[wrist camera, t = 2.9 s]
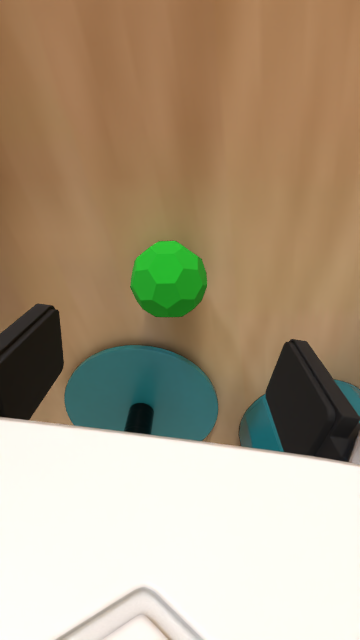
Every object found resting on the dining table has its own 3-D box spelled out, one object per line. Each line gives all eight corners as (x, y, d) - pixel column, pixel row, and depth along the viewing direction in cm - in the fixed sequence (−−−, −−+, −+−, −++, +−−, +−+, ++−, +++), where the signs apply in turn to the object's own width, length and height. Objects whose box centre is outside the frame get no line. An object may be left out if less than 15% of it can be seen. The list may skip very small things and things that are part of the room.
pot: (221, 473, 32) (231, 564, 24) (268, 345, 23) (309, 430, 15) (329, 484, 32) (371, 577, 25) (418, 365, 23) (527, 455, 16)
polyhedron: (126, 247, 19) (108, 269, 15) (191, 223, 18) (193, 239, 14) (152, 307, 21) (144, 340, 17) (212, 288, 20) (218, 319, 16)
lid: (73, 440, 29) (45, 506, 24) (63, 330, 22) (20, 386, 16) (202, 454, 30) (205, 522, 24) (232, 352, 23) (248, 413, 17)
